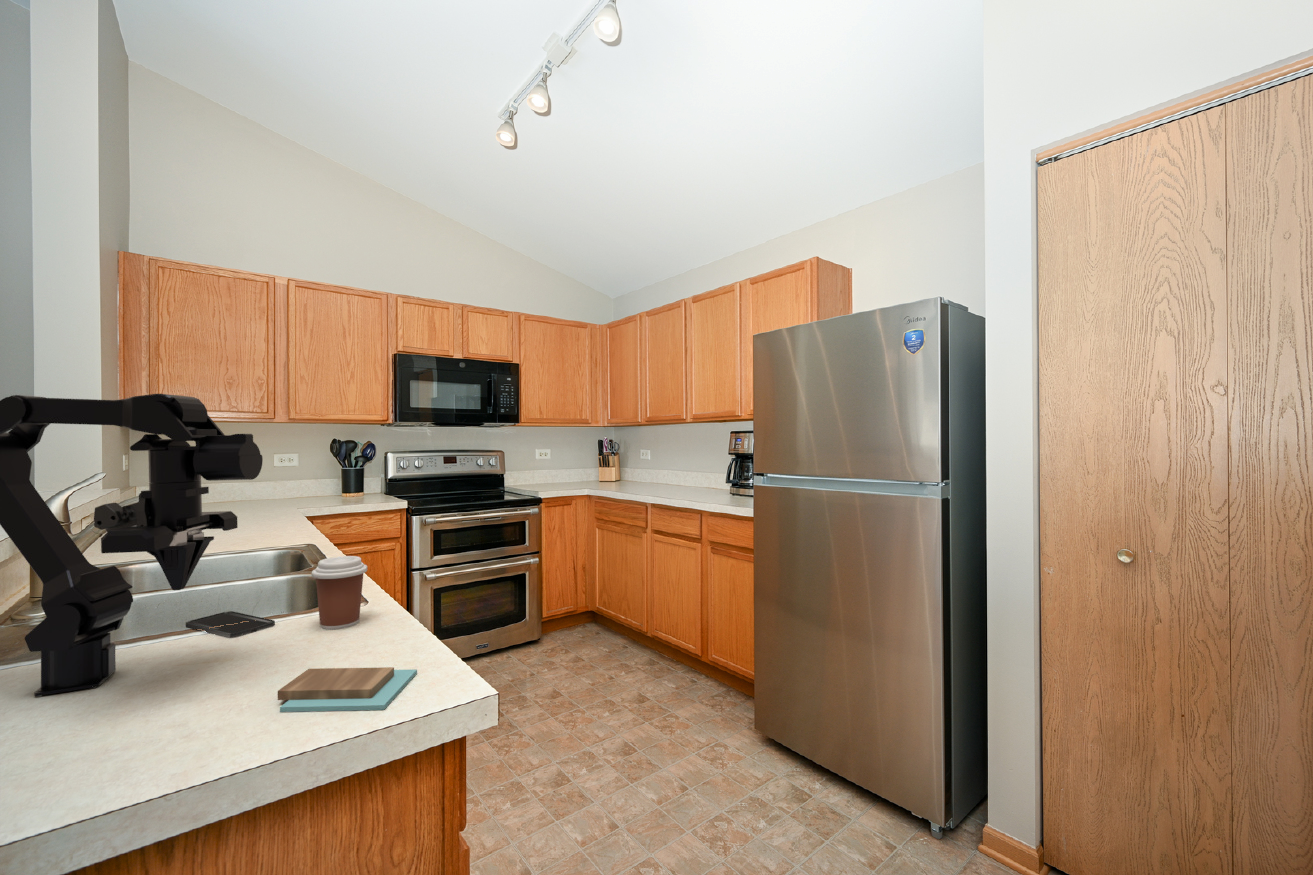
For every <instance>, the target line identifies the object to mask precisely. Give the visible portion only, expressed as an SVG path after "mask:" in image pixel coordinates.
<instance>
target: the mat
mask: <svg viewBox="0 0 1313 875" xmlns="http://www.w3.org/2000/svg"><path fill="white" fill-rule="evenodd" d="M417 674H418V669H394V676H393V677H392V678H391V679H390V680H389V681H388V682H387V683H386V684H385V685H384V686H383V687H382V688H381V689H380V690H379V691H378V692H377V693H376V694H375V695H374V696H373V697H372V698H367V699H312V700H286V702H284V704H282V705H281V706H280V707H279V713H287V712H288V713H289V712H290V713H293V712H295V713H296V712H298V713H299V712H336V711H340V712H341V711H347V712H348V711H349V712H350V711H385V709H387V707H389V705H390V704H391V703H392V701H393V700H394V699H396V697H398V695H399V694H400V693H401V692H403V689H405V687H407V685H408V684H409V683H410V682H411V681H412V680H413V678H415V677H416V675H417Z"/></svg>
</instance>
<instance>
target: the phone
mask: <svg viewBox="0 0 1313 875" xmlns="http://www.w3.org/2000/svg"><path fill="white" fill-rule="evenodd" d="M264 618H265V617H260V616H256V615H251V614H246V613H241V612H237V611H232V610H231V611H229V610H228V611H224V612H219V613H215V614H212V615H211V614H210V615H207V616H203V617H200V618H196V619H192V620H188V621H186V622H185V628H187V629H191V630H194V629H202V630H205V631H206V632H207V633H206V632H205V633H206V634H210V633H211V634H210V635H214V634H215V635H214V636H218V637H222V638H227V639H235V638H239V637H243V636H246V635H250V634H254V633H256V632H260V631H263V630H266V629H269V628H272V627H275V626H274V625H276V622H275V620H274V619H268V618H265V619H264ZM255 620H256V621H255ZM242 621H249V622H243V623H240V622H242ZM234 623H238V624H234ZM226 624H234V625H226ZM220 625H224V626H221V627H215V628H210V629H209V627H214V626H220ZM197 631H199V632H202V631H201V630H197Z"/></svg>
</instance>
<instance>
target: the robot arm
mask: <svg viewBox="0 0 1313 875" xmlns="http://www.w3.org/2000/svg"><path fill="white" fill-rule="evenodd" d="M51 424H52V425H53V424H57V425H59V424H60V425H86V426H87V425H89V426H91V425H92V426H93V425H95V426H96V425H97V426H115V427H121V428H125V429H128V430H132V431H135V432H136V431H137V432H141V433H146V434H144V435H143V436H142V438H141V439H139V440H138V441H136V442H135V443H133V444H131V446H130V447H129V449H130V451H132V452H140V451H141V452H143V451H144V452H148V454H147V455H148V458H147V459H148V488H149V489H147V490H146V489H145V490H141V491H140V493H138V502H135V503H132V504H128V505H122V506H121V505H120V504H119V503H118V502H111V503H110V502H109V503H104V504H101V505H99V506H96V507H94V511H93V512H94V513H93V522H94V523H93V526H94V527H95V528H96V529H98V530H102V531H103V530H105V531H106V532H105V534H104V535H103V536H102V537H100V551H101V552H100V553H101V554H118V553H123V554H124V553H148V554H150V555H151V556H152V557H154V558H155V559H156V561H157V563H158V564H159V566H160V568H161V570H162V572H163V574H164V576H165V578H166V580H167V582H168V584H169V586H170V589H171V590H172V591H181V590H184V589H185V588H186V586H187V584H188V582H189V580H190V579H191V577H192V574H193V573H194V571H195V569H196V567H197V565H198V564H199V561H201V560H200V559H201V558H202V556H203V554H204V553H205V551H206V550H207V548H208V547H209V545H210V543H211V541H214V540H215V536H214V535H213V536H212V535H211V536H205V532H204V530H219V529H220V530H222V531H223V532H224V531H226V532H229V531H231V530H232V531H233V530H236V529H238V516H237V515H236V514H235V513H234V512H233V511H231V510H226V511H203V504H202V502H203V500H202V495H207V494H210V489H209V488H210V487H209V486H202V479H204V480H205V481H211V482H212V481H214V482H215V481H217V482H218V481H247V480H248V481H250V480H251V481H252V480H254V479H256V478H257V477H258V476H259V475H260V473H261V470H262V467H263V455H262V454H261V451H260V448H259V446H258V445H257V443H255V441H254V435H253V434H252V433H235V434H228V435H227V434H226V435H225V433H224V432H223V431H222V430H221V428H220V427H219V426H218V425H217V424H216V422H214V420H213V419H212V418H211V416H210V415H209V414H208V410H207V407H206V406H205V404H204V403H203V402H202V401H201V399H200V398H197V397H195V396H187V395H177V394H176V395H175V394H167V393H152V394H151V393H150V394H145V395H135V396H129V397H125V398H121V399H113V400H112V399H89V398H62V397H61V398H59V397H58V398H57V397H44V396H36V395H21V394H15V395H14V394H13V395H10V396H5V397H4V398H2V399H0V526H1V528H2V529H3V531H4V532H5V533H6V534H7V536H8V538H9V539H10V540H11V541H12V543H13V544H14V545H15V547H16V548H17V550H18V551H19V552H20V554H21V556H22V557H23V558H24V560H25V561H26V562H27V564H28V565H29V566H30V567H31V570H33V571H34V573H35V574H36V576H37V577H38V579H40V581H41V582H42V592H41V599H40V600H41V601H40V605H41V608H42V610H43V612H44V615H45V618H44V619H43V620H42V621H41V622H40V623H38V624H37V625H36V626H35V627H34V628H33V629H32V630H30V631H29V632H28V633H27V634H26V635H25V636H24V641H25V644H26V646H27V649H28V651H29V652H31V653H32V652H33V653H34V652H40V688H38V689H37V690H36V691H34V693H33V695H34V696H33V697H39V696H45V695H52V694H59V693H65V692H73V691H80V690H85V689H93V688H97V687H99V686H101V685H102V683H104V682H105V681H106V680H107V679H108V678H109V677H110V676H111V675H112V674H114V672H116V643H115V642H112V643H111V639H112V638H111V632H112V631H116V630H119V629H120V628H121V625H122V622H123V620H124V617H126V616H127V615H128V614H129V612H130V610H131V607H132V603H133V602H134V597H133V594H132V591H130V590H131V589H133V585H131V584H130V583H128V582H127V581H126V580H125V579H124V577H123V575H122V573H121V571H120V569H119V568H118V567H117V566H116V565H111V566H108V567H104V568H100V567H99V566H96V565H93V564H91V563H90V562H89V561H88V559H87V558H86V557H85V556H84V554H83V553H82V551H81V550H80V548H79V547H78V546H77V544H76V543H75V542H74V540H73V539H72V538H71V536H70V535H69V533H68V532H67V531H66V529H65V528H64V527H63V525H62V523H61V522H60V521H59V519H58V518H57V516H56V515H55V514H54V512H53V511H52V510H51V509H50V506H48V504H47V502H46V501H45V500H44V498H43V497H42V496H41V495H40V493H39V492H38V491H37V489H36V488H35V486H34V485H33V484H32V482H31V480H30V479H31V474H32V472H31V471H32V465H33V464H32V463H33V462H32V459H31V457H30V455H29V453H28V452H30V451H31V450H32V449H33V448H34V447H36V446H37V445H38V444H39V443H40V442H41V440H42V438H43V435H44V432H45V430H46V428H47V427H48V426H50V425H51ZM160 435H161V436H162V435H164V436H166V437H167V438H162V437H160ZM189 442H195V445H191V444H190V443H189Z"/></svg>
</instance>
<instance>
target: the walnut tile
mask: <svg viewBox="0 0 1313 875" xmlns="http://www.w3.org/2000/svg"><path fill="white" fill-rule="evenodd" d="M394 670H395V667H394V666H391V667H387V666H386V667H383V666H382V667H337V668H335V667H332V668H330V667H329V668H328V667H324V668H320V667H319V668H308V669H306V670H305V671H303V672H302V673H301V674H299V675H298V676H296V677H295V678H294V679H293V680H290V681H289V682H288V683H287V684H284V686H282V687H281V688H280V689H277V701H289V700H312V699H367V698H372V697H373V696H374V695H375V694H376V693H377V692H378V691H379V690H380V689H381V688H382V687H383V686H384V685H385V684H386V683H387V682H388V681H389V680H390V679H391V678H392V677H393V676H394Z"/></svg>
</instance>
